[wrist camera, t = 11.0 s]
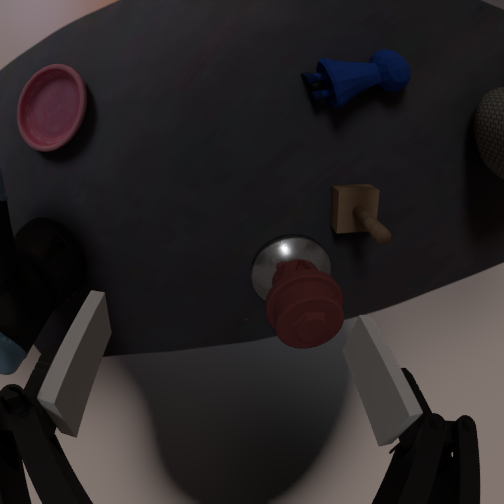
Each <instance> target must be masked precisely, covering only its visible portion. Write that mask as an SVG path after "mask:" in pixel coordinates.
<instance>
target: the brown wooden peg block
mask: <svg viewBox="0 0 504 504" xmlns="http://www.w3.org/2000/svg"><path fill="white" fill-rule="evenodd" d="M378 201H379V190H378V189H376V188H375V187H373V186H372V185H370V184H364V185H332V196H331V219H330V225H331V227H332V228H333V229H334V231H335V232H336V233H351V232H366V231H368V232H369V233H370V234H371V235H372V236H373V237H374V238H375V239H376V240H377V241H378V242H379V243H380V244H382V245H384V244H387V243H388V242H389V241H390V239H391V233H390V231H388V230H387V229H386V228H385V227H384V226H383V225H382V224H381V223H380V222H379V221H378V220H377V211H378Z"/></svg>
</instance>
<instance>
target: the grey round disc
mask: <svg viewBox="0 0 504 504" xmlns="http://www.w3.org/2000/svg"><path fill="white" fill-rule="evenodd" d="M295 259H303V260H307V261H310V262H311V263H313V264H314V265H315V266H316V267H317V269H318V270H319V271H322V272H325V273H327V274H329V275H330V272H331V266H330V261H329V258H328V256H327V254H326V252H325V250H324V249H323V247H322V246H321V245H320V244H319V243H318V242H317V241H315V240H314V239H312V238H310V237H307V236H304V235H299V234H289V235H283V236H279V237H277V238H274V239H273V240H271V241H269V242H268V243H266V244H265V245H264V246H263V247H262V248H261V249H260V250H259V251H258V252H257V254H256V256H255V258H254V260H253V263H252V267H251V276H252V283H253V286H254V289H255V291H256V292H257V294H258V295H259V296H260V297H261V298H262V299H263V300H265V301H266V297H267V295H268V292H269V291H270V289H271V288H272V287H273V286H272V278H273V275H274V273H275V271H276V270H277V269H276V265H277V263H278V262H281V261H284V262H288V261H291V260H295Z"/></svg>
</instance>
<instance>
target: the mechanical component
mask: <svg viewBox="0 0 504 504" xmlns="http://www.w3.org/2000/svg"><path fill="white" fill-rule="evenodd" d="M276 269H277V270H276V271H275V273H274V275H273V278H272V286H273V287H272V288H271V289H270V291H269V292H268V295H267V297H266V301H265V309H266V315H267V319H268V321H269V323H270V324H271V326H272V327H273V328H274V329H276V332H277V335H278V337H279V339H280V340H281V341H282V342H283V343H285V344H286V345H288V346H291V347H294V348H312V347H316V346H319V345H321V344H323V343H325V342H327V341H329V340H330V339H332V338H333V337H334V336H335V335H336V334H337V333H338V332H339V330H340V329H341V327H342V324H343V321H344V312H343V309H342V303H343V296H342V292H341V290H340V288H339V286H338V284H337V282H336V281H335V280H334V278H332V277H331V276H330V275H329V274H327V273H325V272H322V271H319V270H318V269H317V267H316V266H315V265H314V264H313V263H311V262H310V261H307V260H303V259H295V260H291V261H288V262H284V261H281V262H278V263H277V265H276Z"/></svg>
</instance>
